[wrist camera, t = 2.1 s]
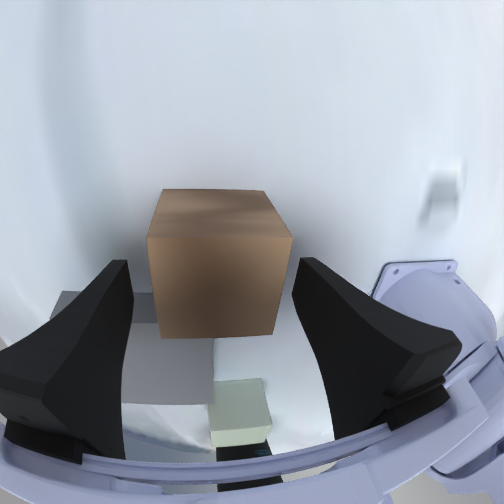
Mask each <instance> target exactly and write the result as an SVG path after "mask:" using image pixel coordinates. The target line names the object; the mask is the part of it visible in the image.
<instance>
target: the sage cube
mask: <svg viewBox="0 0 504 504" xmlns="http://www.w3.org/2000/svg"><path fill="white" fill-rule="evenodd" d="M213 390H214V404H207V412H208V421H209V429H210V437H211V444H212V447H226V446H237V445H247V444H255V443H262V442H264V441H265V439H266V437H267V435H268V433H269V431H270V429H271V427H272V425H273V424H272V420H271V416H270V413H269V409H268V405H267V401H266V397H265V393H264V389H263V385H262V381H261V378H255V379H244V380H231V381H213Z"/></svg>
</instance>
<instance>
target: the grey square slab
mask: <svg viewBox="0 0 504 504" xmlns="http://www.w3.org/2000/svg"><path fill="white" fill-rule="evenodd" d="M80 293H81V292H76V291H62V293H61V295H60V297H59V299H58V301H57V303H56V305H55V307H54V310H53V312H52V314H51V316H50V320H51V319H52V318H53V317H54V316H56V315H57V314H58V313H59V312H61V311H62V310H63V309H64V308H65V307H66V306H67V305H69V304H70V303H71V302H72V301H73V300H74V299H75V298H76V297H77V296H78V295H79V294H80ZM133 295H134V307H133V317H132V323H131V328H130V332H129V337H128V342H127V347H126V352H125V357H124V362H123V370H122V385H121V403H135V404H157V405H196V404H214V390H213V338H200V339H161V335H160V330H159V325H158V319H157V314H156V308H155V302H154V296H153V293H133Z"/></svg>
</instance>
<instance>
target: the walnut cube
mask: <svg viewBox="0 0 504 504" xmlns="http://www.w3.org/2000/svg"><path fill="white" fill-rule="evenodd" d="M146 240H147V250H148V259H149V267H150V275H151V282H152V289H153V296H154V302H155V308H156V314H157V319H158V325H159V330H160V335H161V339H200V338H227V337H246V336H260V335H272V334H273V330H274V326H275V321H276V317H277V313H278V308H279V304H280V299H281V295H282V290H283V286H284V281H285V276H286V272H287V267H288V262H289V257H290V252H291V247H292V242H293V236H292V235H291V233H290V232H289V230H288V228H287V227H286V225H285V224H284V222H283V220H282V219H281V217H280V216H279V214H278V213H277V211H276V210H275V208H274V206H273V205H272V203H271V202H270V200H269V199H268V197H267V196H266V194H265V193H264V191H255V190H225V189H163V190H162V193H161V196H160V199H159V201H158V204H157V207H156V210H155V213H154V216H153V219H152V222H151V225H150V228H149V231H148V234H147V237H146Z"/></svg>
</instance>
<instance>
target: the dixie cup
mask: <svg viewBox="0 0 504 504" xmlns="http://www.w3.org/2000/svg"><path fill="white" fill-rule="evenodd" d="M271 455H272V453H271V450H270V447H269V445H268V442H267V439H265V441H264V442H262V443H255V444H247V445H237V446H226V447H216V458H217V462H222V461H233V460H243V459H251V458H258V457H265V456H271ZM278 483H283V480H282V478H281V475H279V476H274V477H268V478H262V479H255V480H248V481H240V482H231V483H219V484H217V489H218V492H225V491H234V490H242V489H249V488H256V487H262V486H268V485H273V484H278Z"/></svg>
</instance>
